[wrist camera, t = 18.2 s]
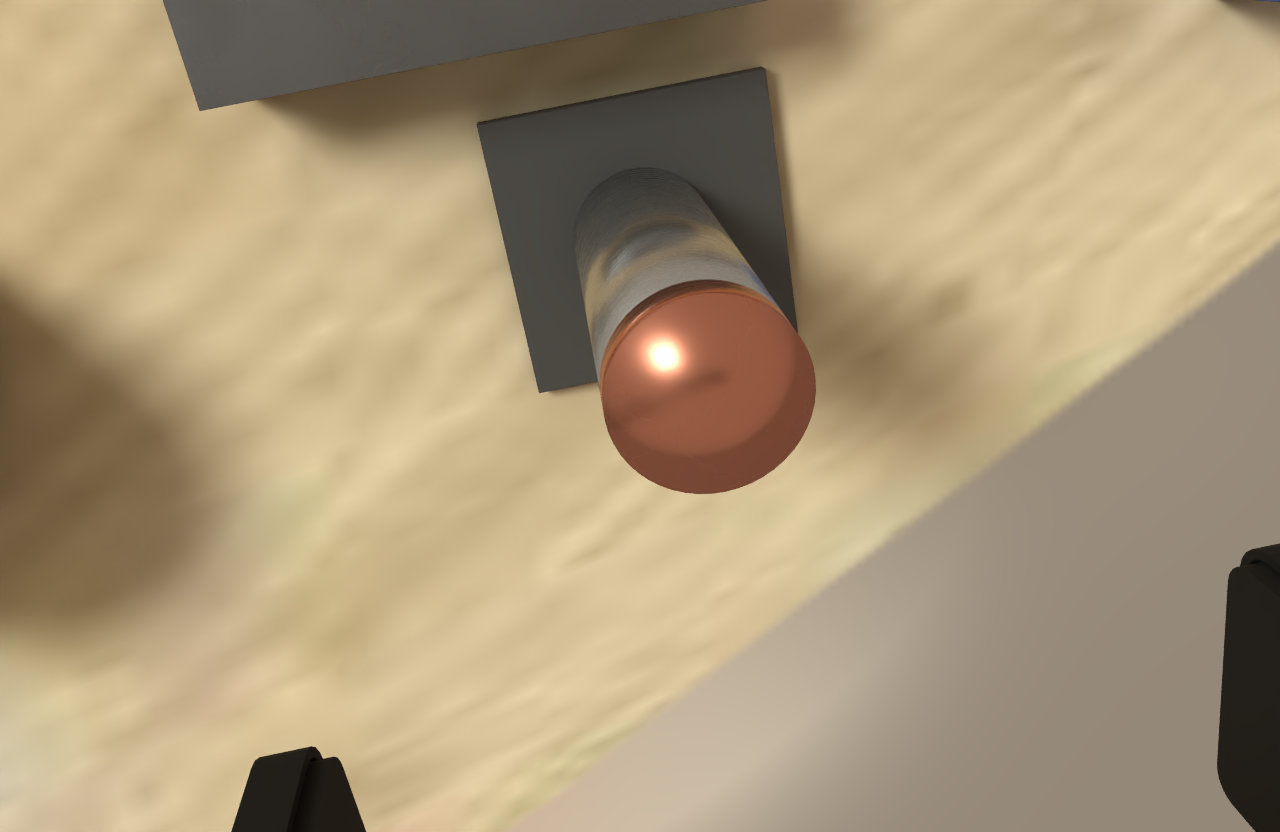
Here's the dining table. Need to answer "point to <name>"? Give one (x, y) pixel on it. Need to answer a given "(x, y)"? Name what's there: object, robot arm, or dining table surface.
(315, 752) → the robot arm
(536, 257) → the rubber pad
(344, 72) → the block
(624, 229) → the silver copper cylinder
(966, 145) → the dining table surface
